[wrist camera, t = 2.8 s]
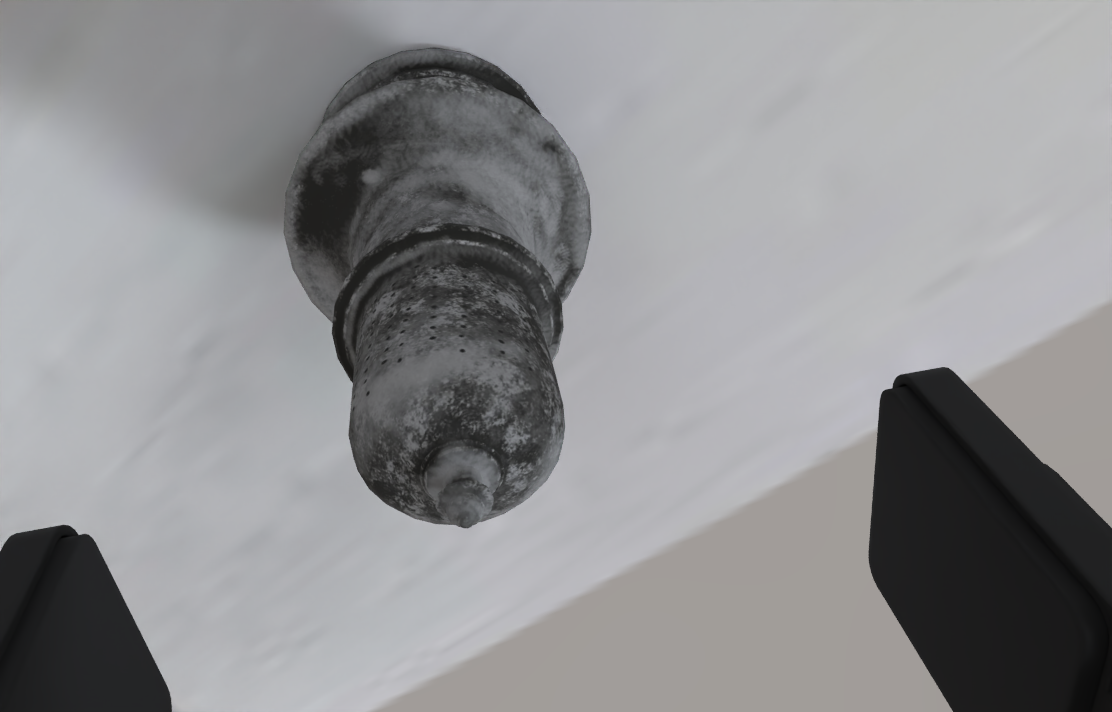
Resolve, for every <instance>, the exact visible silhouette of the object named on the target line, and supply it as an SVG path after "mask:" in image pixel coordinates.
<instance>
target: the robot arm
mask: <svg viewBox="0 0 1112 712" xmlns="http://www.w3.org/2000/svg"><path fill="white" fill-rule="evenodd" d="M869 564H870V569H871V573H872V576H873V579H874V581H875V583H876V585H877V587H878V589H879V590H880V592H881V593H882V595H883V597H884V598H885V600H886V601H887V603H888V605H889V607H890V608H891V610H892V612H893V613H894V615H895V616H896V618H897V620H898V621H899V623H900V625H901V626H902V628H903V630H904V631H905V633H906V635H907V636H908V638H909V640H910V641H911V643H912V644H913V646H914V648H915V649H916V651H917V653H918V654H919V656H920V658H921V659H922V661H923V663H924V664H925V666H926V668H927V669H928V671H929V673H930V674H931V676H932V677H933V679H934V681H935V682H936V684H937V685H938V687H939V689H940V691H941V692H942V694H943V696H944V697H945V699H946V701H947V702H948V704H949V706H950V707H951V709H952V710H953V712H1112V528H1111V527H1110V526H1109V525H1108V524H1107V523H1106V522H1105V521H1104V520H1103V519H1102V518H1101V517H1100V516H1099V515H1098V514H1097V513H1096V512H1095V511H1094V510H1093V509H1092V508H1091V507H1090V506H1089V505H1088V504H1087V503H1086V502H1085V501H1084V500H1083V499H1082V498H1081V497H1080V496H1079V495H1078V494H1077V493H1076V492H1075V490H1074V489H1072V487H1070V485H1068V483H1067V482H1066V481H1065V480H1064V479H1063V478H1062V477H1060V475H1059V474H1058V473H1057V472H1055V471H1054V470H1053V469H1052V468H1050V467H1049V466H1048V465H1046V464H1043V463H1042V462H1041V461H1040V460H1039V459H1038V458H1037V457H1036V456H1035V455H1034V454H1033V453H1032V452H1031V451H1030V450H1029V448H1027V446H1026V445H1025V444H1024V443H1023V442H1022V441H1021V440H1020V439H1019V438H1018V437H1017V436H1016V435H1015V434H1014V433H1013V432H1012V431H1011V430H1010V429H1009V428H1008V427H1007V426H1006V425H1005V424H1004V423H1003V422H1002V421H1001V420H1000V419H999V418H998V417H997V416H996V415H995V414H994V413H993V412H992V411H991V409H990V408H988V406H987V405H986V404H985V403H984V402H983V401H982V400H981V399H980V398H979V397H978V396H977V395H976V394H975V393H974V392H973V391H972V390H971V389H970V388H969V387H968V386H967V385H966V384H965V383H964V382H963V381H962V380H961V379H960V378H959V377H958V376H957V375H956V374H955V373H954V372H953V371H952V370H950V369H949V368H945V367H941V368H936V369H930V370H925V371H919V372H913V373H908V374H902V375H899V376H898V377H896V379H895V381H894V383H893V388H892V389H887V390H885V391H883V392H882V394H881V398H880V407H879V420H878V434H877V447H876V463H875V474H874V487H873V501H872V515H871V528H870V541H869ZM0 712H172V706H171V697H170V692H169V690H168V687H167V685H166V683H165V681H164V679H163V677H162V675H161V673H160V671H159V669H158V667H157V665H156V663H155V661H154V659H153V657H152V655H151V653H150V651H149V649H148V647H147V645H146V643H145V641H144V639H143V637H142V635H141V633H140V631H139V629H138V627H137V625H136V623H135V621H134V619H133V617H132V615H131V613H130V611H129V609H128V607H127V605H126V603H125V601H124V599H123V597H122V595H121V593H120V591H119V589H118V587H117V585H116V583H115V581H114V579H113V577H112V575H111V573H110V571H109V569H108V567H107V565H106V563H105V561H104V559H103V557H102V555H101V553H100V551H99V549H98V547H97V545H96V543H95V541H94V540H93V538H92V537H91V536H89V535H87V534H82V535H78V534H77V532H76V531H75V530H74V529H73V528H72V527H70V526H68V525H60V526H55V527H49V528H44V529H38V530H33V531H27V532H21V533H16V534H14V535H12V536H10V537H9V538H8V540H7V541H6V542H5V544H4V546H3V548H2V549H1V551H0Z"/></svg>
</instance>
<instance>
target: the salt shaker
mask: <svg viewBox="0 0 1112 712" xmlns="http://www.w3.org/2000/svg"><path fill="white" fill-rule="evenodd" d="M590 235H591V216H590V199H589V193H588V190H587V187H586V184H585V181H584V179H583V176H582V173H581V170H580V167H579V164H578V161H577V159H576V157H575V156H574V154H573V153H572V151H571V150H570V149H569V147H568V146H567V144H566V143H565V141H564V140H563V139H562V137H561V136H560V134H559V133H558V132H557V130H556V129H555V127H554V126H553V125H552V124H551V123H549V122H548V121H547V120H546V119H544V118H543V117H542V116H541V114H540V112H539V110H538V109H537V108H536V106H535V105H534V103H533V102H532V100H531V99H530V98H529V96H528V95H527V93H526V92H525V91H524V89H523V88H522V86H520V85H519V84H518V83H517V82H515V81H514V80H513V79H512V78H511V77H509V76H508V75H507V74H506V73H504V72H503V71H502V70H501V69H500V68H498V67H497V66H495V65H493V64H491V63H488V62H486V61H484V60H482V59H479V58H477V57H475V56H473V55H471V54H468V53H464V52H458V51H452V50H445V49H439V48H428V49H419V50H410V51H401V52H399V53H396V54H394V55H391V56H389V57H386V58H384V59H381V60H379V61H376V62H374V63H371V64H370V65H369V66H367V67H366V68H365V69H364V70H362V71H361V72H360V73H358V74H357V75H356V76H354V77H353V78H352V79H351V80H349V81H348V82H347V83H346V84H345V85H344V86H343V88H342V89H341V90H340V92H339V93H338V95H337V96H336V97H335V99H334V100H333V101H332V103H331V104H330V105H329V107H328V108H327V111H326V113H325V116H324V119H323V122H322V125H321V126H320V128H319V129H318V130H317V132H316V133H315V134H314V136H313V137H312V139H311V140H310V141H309V143H308V144H307V145H306V147H305V148H304V149H303V151H302V152H301V153H300V155H299V157H298V160H297V163H296V166H295V169H294V171H293V174H292V177H291V180H290V183H289V185H288V188H287V191H286V195H285V216H284V236H285V240H286V244H287V248H288V252H289V256H290V260H291V264H292V268H293V270H294V272H295V274H296V276H297V277H298V279H299V281H300V283H301V284H302V286H303V288H304V290H305V291H306V293H307V295H308V297H309V298H310V300H311V302H312V303H313V304H314V305H315V306H316V307H317V308H318V309H319V310H320V311H321V312H322V313H323V314H324V315H325V316H326V317H327V318H328V319H329V320H330V321H331V322H332V323H333V327H332V335H333V339H334V344H335V348H336V353H337V357H338V359H339V361H340V363H341V365H342V366H343V368H344V370H345V371H346V373H347V375H348V377H349V378H350V380H351V381H352V382H353V389H352V401H351V413H350V425H349V439H350V444H351V448H352V452H353V457H354V460H355V463H356V467H357V470H358V472H359V473H360V475H361V477H362V478H363V480H364V481H365V483H366V485H367V486H368V488H369V489H370V490H371V491H372V492H373V493H374V494H375V495H377V496H378V497H379V498H380V499H381V500H382V501H383V502H384V503H386V504H387V505H389V506H391V507H393V508H395V509H397V510H399V511H401V512H403V513H405V514H406V515H408V516H411V517H413V518H415V519H419V520H422V521H426V522H430V523H434V524H448V525H457V526H459V527H462V528H469V527H471V526H472V525H475V524H477V523H478V522H482V521H485V520H488V519H491V518H494V517H496V516H499V515H502V514H504V513H506V512H508V511H509V510H511V509H513V508H514V507H516V506H517V505H519V504H521V503H522V502H524V501H525V500H526V499H528V498H529V497H530V496H531V495H532V494H533V493H534V492H535V491H536V490H537V489H538V488H539V487H540V486H541V485H542V484H543V483H544V482H545V481H546V480H547V479H548V477H549V476H550V474H551V472H552V470H553V469H554V467H555V465H556V464H557V462H558V460H559V456H560V452H561V448H562V444H563V439H564V431H565V421H564V409H563V402H562V398H561V395H560V391H559V387H558V383H557V379H556V375H555V371H554V368H553V364H552V362H553V360H554V358H555V356H556V355H557V353H558V349H559V345H560V340H561V336H562V332H563V315H562V303H563V302H564V301H565V300H566V299H567V297H568V295H569V293H570V291H571V289H572V288H573V286H574V284H575V282H576V280H577V278H578V276H579V274H580V272H581V270H582V269H583V267H584V262H585V258H586V253H587V249H588V244H589V240H590Z"/></svg>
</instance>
